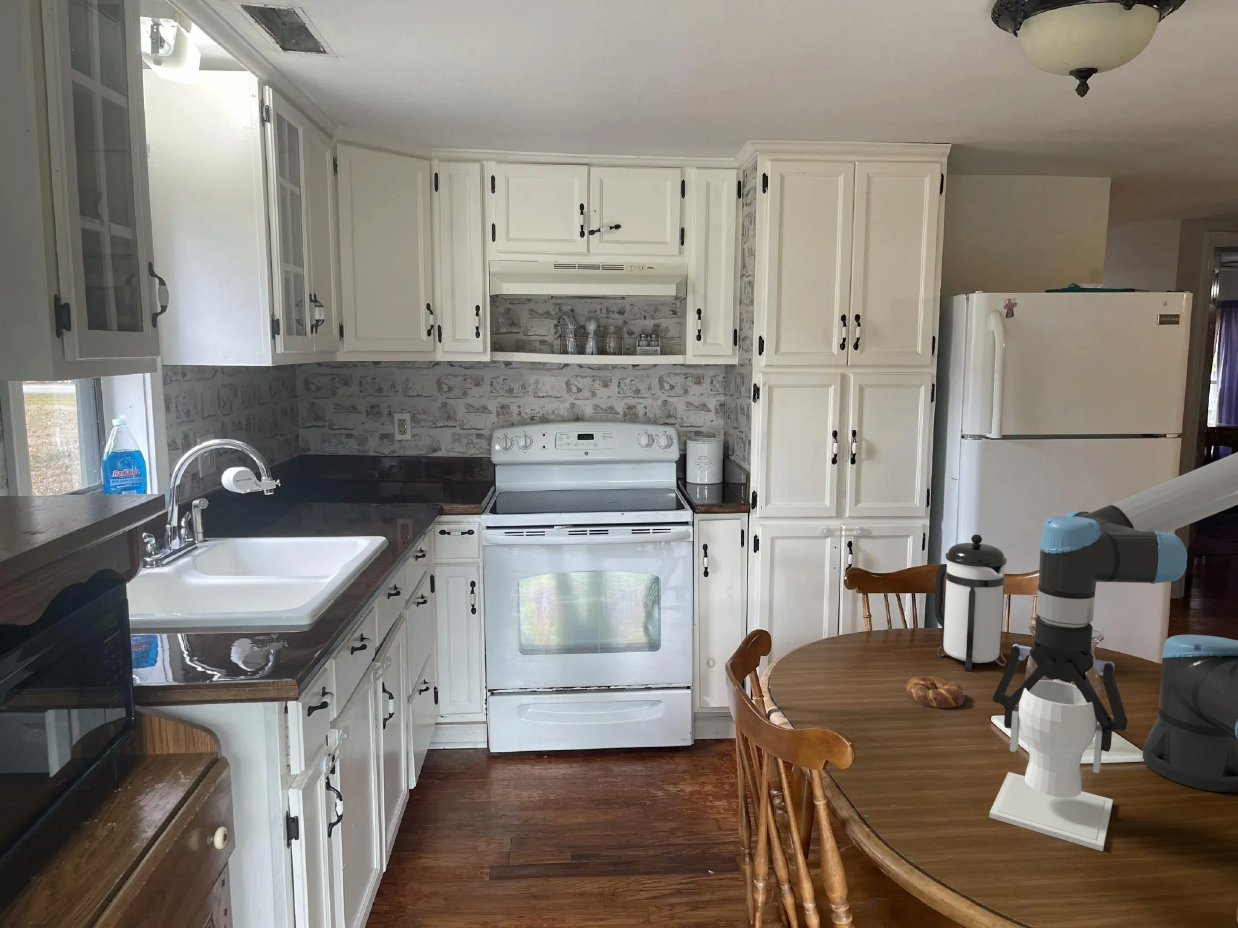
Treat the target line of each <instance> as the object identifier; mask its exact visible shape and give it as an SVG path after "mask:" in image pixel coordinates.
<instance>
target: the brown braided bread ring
mask: <svg viewBox="0 0 1238 928" xmlns="http://www.w3.org/2000/svg"><path fill="white" fill-rule="evenodd" d="M963 689H964V688H962V686H961V685H959V683H957V682H955V681H946V680H945V679H943V678H942V677H939V676H935V675H934V676H933V675H932V676H926V675H924V676H923V675H919V676H914V677H912V678H911V679H909V680H908V681H907V683H906V684H905V692H906V694H907V696H908V698H910V700H912V701H915V702H917V703H919V704H920V705H922V706H925V707H931V708H938V709H950V708H957V707H960V706H962V705H963V704H964V702H965V696H964V690H963Z"/></svg>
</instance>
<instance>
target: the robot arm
mask: <svg viewBox="0 0 1238 928" xmlns="http://www.w3.org/2000/svg"><path fill="white" fill-rule="evenodd" d="M1237 505H1238V451H1237V452H1235V453H1233V454H1230V455H1228V456H1225V457H1221V459H1218V460H1215V461H1213V462H1210V463H1209V464H1206V465H1203V466H1201V467H1198V468H1196V469H1194V470H1191V471H1188V472H1187V473H1184V474H1182V475H1179V476H1177V477H1174V478H1172V479H1169V480H1168V481H1164V482H1162V483H1160V484H1158V485H1156V486H1153V487H1150V488H1147V489H1146V490H1143V491H1141V492H1139V493H1136V494H1134V495H1130V496H1129V497H1126V498H1124V499H1121V500H1119V501H1117V502H1115V503H1112V504H1110V505H1107V506H1104V507H1101V508H1100V509H1096V510H1094V511H1092V512H1089V511H1084V510H1081V511H1080V510H1077V511H1076V510H1074V511H1073V510H1072V511H1069V512H1067V513H1065V514H1063V515H1054V516H1051V517H1048V518H1046V519H1045V521H1044V522H1043V525H1042V530H1041V536H1040V541H1039V545H1038V546H1039V547H1038V548H1039V566H1038V585H1037V594H1036V611H1035V612H1036V614H1037V615H1038V616H1037V617H1036V618H1035V625H1034V626H1035V627H1034V640H1033V645H1032V646H1031V647H1030V646H1025V645H1022V644H1021V643H1020V642H1015V643H1014V644H1013V645H1012V647H1011V648H1010V656H1009V663H1008V664H1007V667H1006V668H1005V670H1004V673H1003V675H1002V677H1001V679H1000V681H999V684H998V685H997V688H996V690H995V692H994V694H993V696H992V701H993V702H994V703H996V704H999V705H1002V707H1003V708H1004V719H1003V725H1004V728H1007V729H1010V742H1009V743H1010V744H1009V745H1010V746H1009V751H1010V752H1013V753H1016V751H1017V749H1018V748H1019V742H1020V740H1019V739H1020V727H1021V723H1020V719H1019V715H1018V712H1019V705H1017V704H1019V701H1020V699H1021V696H1022V694H1023V691H1024V688H1026V689H1027V691H1029V690H1030V689H1031V688H1032V687H1033V686H1034V685H1035V684H1036V683H1037V682H1038V681H1039V680H1041V679H1043V677H1046V678H1047V679H1048V680H1052V681H1057V680H1060V682H1063V683H1068V684H1072V683H1074V685H1075V686H1077V688H1078V689H1079V690H1080V692H1081V693H1082V695H1083V697H1084V698H1085V700H1086V702H1087V703H1090V702H1092V703H1093V707H1094V713H1095V717H1096V719H1097V729H1096V733H1095V737H1094V738H1095V739H1094V753H1093V765H1092V773H1096V774H1099V773H1100V770H1101V765H1102V754H1103V752H1107V753H1109V752H1110V750H1111V747H1112V740H1113V739H1112V737H1113V732H1115V731H1120V732H1125V731H1126V730H1127V725H1128V719H1127V716H1126V712H1125V708H1124V705H1123V702H1122V701H1123V700H1122V698H1121V696H1120V692H1119V689H1118V685H1117V682H1116V679H1115V676H1114V675H1115V674H1114V673H1115V667H1116V664H1115V663H1116V662H1115V661H1114V660H1112V659H1107V660H1102V659H1097V658H1094V656H1093V654H1092V640H1093V625H1092V624H1091V623H1092V622H1093V621H1094V614H1095V613H1094V612H1095V601H1096V600H1095V599H1096V598H1095V597H1096V587H1097V583H1131V584H1132V583H1139V584H1140V583H1142V584H1151V585H1155V584H1159V583H1172V582H1175V581H1178V580H1180V579H1181V577H1182V576H1183V575H1184V573H1185V572H1186V569H1187V562H1188V561H1187V560H1188V552H1187V549H1186V546H1185V544H1184V543H1183V541H1182V539H1181V538H1180V537H1179V536H1178V535H1176V534H1174V533H1172V532H1173V531H1176V530H1178V529H1181V528H1183V527H1185V526H1188V525H1190V524H1193V523H1195V522H1198V521H1200V520H1203V519H1205V518H1207V517H1210V516H1213V515H1216V514H1218V513H1219V512H1222V511H1225V510H1228V509H1230V508H1233V507H1235V506H1237ZM1027 656H1030V657H1031V659H1032V660H1033V662H1034V663H1035V664H1036V667H1035V668H1034V670H1033V671H1032V672H1031V673H1030V674H1029V675H1028V676H1027V677H1026V678H1025V680H1024V681H1022V683H1021V684H1020V685H1019V686H1018V687H1017V688H1016V690H1015V691H1013V692H1012V694H1011V695H1010V696H1008V695H1006V693H1007V690H1008V687H1009V685H1010V683H1011V681H1012V680H1013V677H1014V675H1015V673H1016V671H1017V669H1018V667H1019V664H1020V663H1021V661H1025V659H1026V657H1027ZM1161 659H1162V660H1161V672H1160V674H1161V675H1160V684H1159V685H1160V686H1159V687H1160V688H1159V700H1158V710H1157V711H1158V712H1157V713H1158V714H1157V718H1156V720H1155V722H1154V723H1153V725H1152V728H1151V730H1150V732H1149V734H1148V736H1146V739H1145V741H1144V744H1143V746H1142V760H1143V759H1144V761H1143V762H1144V764H1145V765H1146V766H1147V767H1148V768H1149V769H1151V770H1152V771H1153V772H1155V773H1156V774H1159V776H1162V777H1164V778H1165V779H1168V780H1170V781H1173V782H1175V783H1179V784H1180V785H1184V786H1187V787H1192V788H1196V789H1199V790H1204V791H1210V792H1219V793H1234V792H1235V793H1236V792H1238V640H1235V639H1232V638H1226V637H1220V636H1214V635H1213V636H1212V635H1206V634H1205V635H1202V634H1178V635H1173V636H1170V637H1168V638H1167V639H1166V640H1165V641H1164V645H1163V651H1162V654H1161ZM1092 668H1094V669H1096V673H1097V674H1098V675H1099V676H1101V677H1102V682H1103V686H1104V689H1105V693H1106V696H1107V699H1108V703H1109V705H1110V710H1111V713H1112V715H1113V716H1112V717H1113V718H1112V717H1111V715H1110V714H1109V713H1108V711H1107V709H1106V708H1105V706H1104V704H1103V703H1102V700H1101V699H1100V697H1099V696H1098V694H1097V693H1096V691H1095V689H1094V687H1093V686H1092V684H1091V682H1090V679H1089V677H1088V675H1087V674H1086V673H1087V672H1089V670H1091V669H1092Z"/></svg>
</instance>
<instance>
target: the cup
mask: <svg viewBox="0 0 1238 928" xmlns="http://www.w3.org/2000/svg"><path fill="white" fill-rule="evenodd" d="M1018 706H1019V712H1018V715H1019V719H1020V727H1021V730H1022V732H1023V734H1024V736H1025V738H1026V740H1027V741H1026V742H1027V744H1028V753H1029V755H1028V756H1029V760H1028V763H1027V767H1026V770H1025V774H1024V776H1025V782H1026V783H1027V784H1028V785H1029V786H1030V787H1031V788H1033V789H1034V790H1036V791H1038V792H1040V793H1043V794H1046V795H1050V796H1054V797H1060V798H1071V797H1076V796H1078V795H1080V793H1081V791H1082V779H1081V771H1080V765H1081V762H1082V758H1083V754H1084V753H1085V751H1086V750H1088V748H1089V746H1090V745H1091V744H1092V742H1093V740H1094V738H1095V736H1096V729H1097V725H1098V721H1097V719H1096V717H1095V713H1094V707H1093V703H1092V702H1090V703H1087V702H1086V700H1085V698H1084V697H1083V695H1082V693H1081V692H1080V690H1079V689H1078V688H1077V686H1076V685H1075V684H1072V683H1067V682H1064V681H1057V680H1050V679H1048V680H1043V679H1042V680H1041V679H1040V680H1039V681H1038V682H1037V683H1036V684H1035V685H1034V686H1033V687H1032V688H1031V689H1030V690H1029V691H1027V689H1026V688H1024V691H1023V694H1022V696H1021V699H1020V701H1019V702H1018Z"/></svg>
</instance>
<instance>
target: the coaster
mask: <svg viewBox="0 0 1238 928" xmlns="http://www.w3.org/2000/svg"><path fill="white" fill-rule="evenodd" d="M1112 807H1113V799H1112V798H1107V797H1104V796H1100V795H1097V794H1093V793H1090V792H1086V791H1082V790H1081V793H1080V795H1078V796H1076V797H1071V798H1060V797H1054V796H1050V795H1046V794H1043V793H1040V792H1038V791H1036V790H1034V789H1033V788H1031V787H1030V786H1029V785H1028V784H1027V783H1026V782H1025V775H1021V774H1018V773H1014V772H1010V771H1008V772H1007V774H1006V776H1005V779H1004V781H1003V782H1002V785H1001V788H1000V789H999V791H998V794H997V796H996V798H995V800H994V802H993V805H992V807H991V808H990V811H989V814H988V815H989V817H988V818H990V819H993V820H997V821H1000V822H1003V823H1007V824H1010V825H1014V826H1017V827H1020V828H1024V829H1027V830H1030V831H1033V832H1037V833H1040V834H1043V835H1047V836H1050V837H1053V838H1057V839H1061V840H1063V841H1066V842H1069V843H1070V842H1071V843H1074V844H1076V845H1077V844H1078V845H1080V846H1084V847H1086V848H1090V849H1094V850H1098V851H1101V852H1104V847H1105V843H1106V838H1107V832H1108V828H1109V823H1110V818H1111V813H1112Z"/></svg>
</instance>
